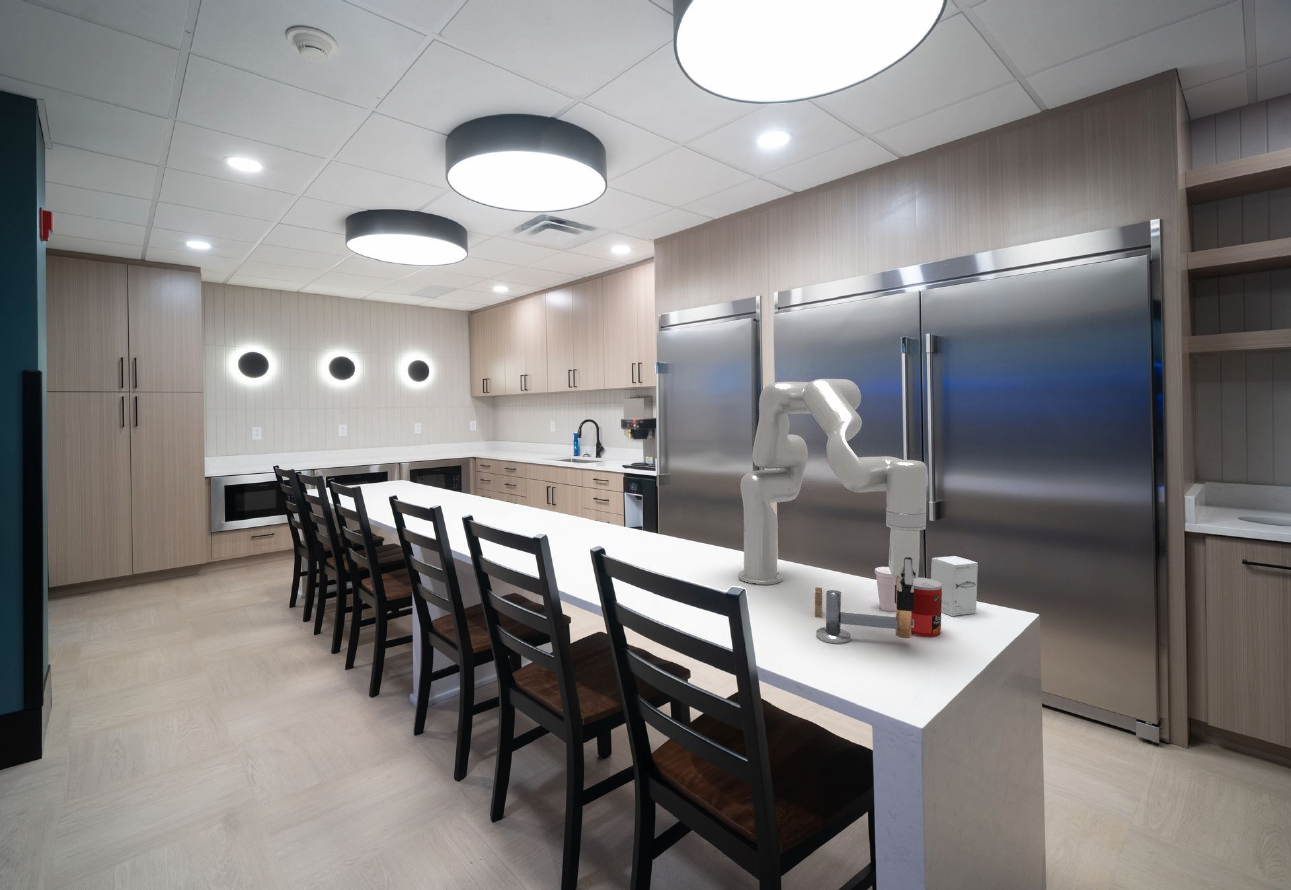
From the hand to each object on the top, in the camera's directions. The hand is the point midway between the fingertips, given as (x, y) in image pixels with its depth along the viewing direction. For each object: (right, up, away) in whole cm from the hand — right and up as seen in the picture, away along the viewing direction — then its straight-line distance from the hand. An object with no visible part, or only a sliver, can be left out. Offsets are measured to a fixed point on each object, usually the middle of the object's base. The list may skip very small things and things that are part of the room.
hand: (903, 606), depth 124 cm
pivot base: (-13, -8, +5) cm, 16 cm away
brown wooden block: (-12, -7, +19) cm, 24 cm away
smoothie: (+6, -7, +23) cm, 25 cm away
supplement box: (+21, -7, +21) cm, 31 cm away
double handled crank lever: (-7, -7, +3) cm, 10 cm away
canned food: (+7, -8, +8) cm, 14 cm away
